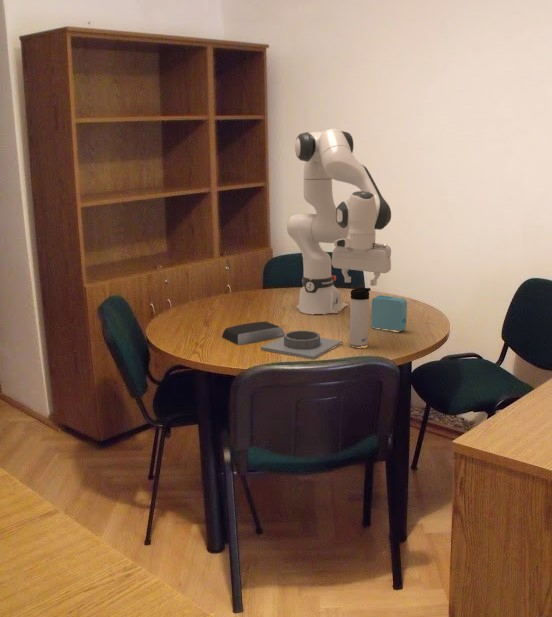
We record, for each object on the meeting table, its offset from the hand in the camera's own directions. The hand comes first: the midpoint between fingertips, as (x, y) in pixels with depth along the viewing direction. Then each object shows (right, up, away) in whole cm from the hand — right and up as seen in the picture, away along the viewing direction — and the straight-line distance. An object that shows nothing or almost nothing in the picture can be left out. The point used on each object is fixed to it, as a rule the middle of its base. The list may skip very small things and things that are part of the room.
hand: (360, 283), depth 238 cm
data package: (+13, -16, +25) cm, 33 cm away
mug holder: (-19, -21, +5) cm, 29 cm away
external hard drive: (-36, -19, +17) cm, 44 cm away
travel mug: (0, -21, +5) cm, 22 cm away
